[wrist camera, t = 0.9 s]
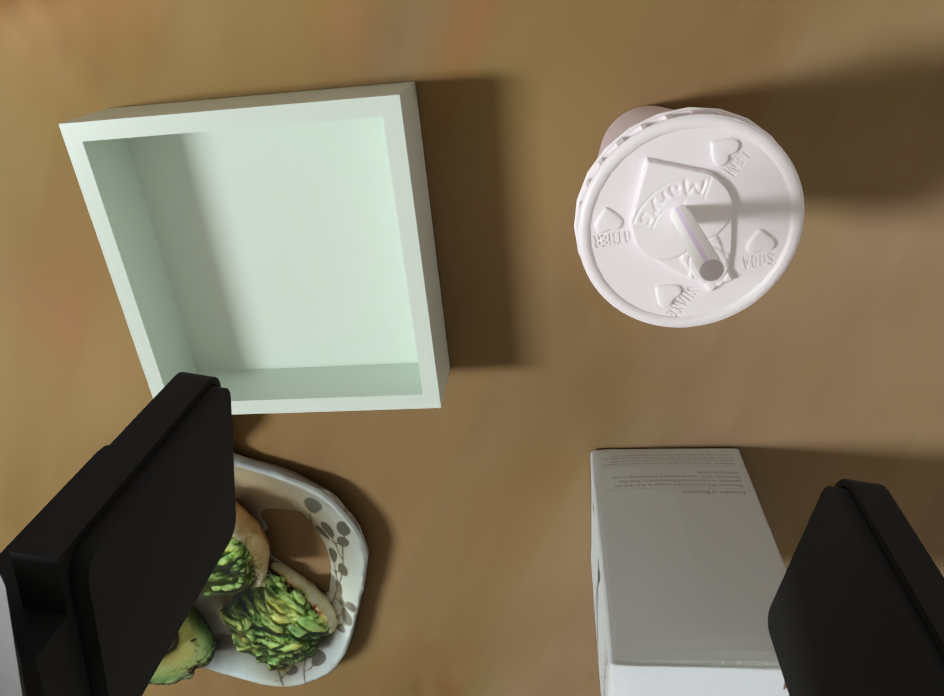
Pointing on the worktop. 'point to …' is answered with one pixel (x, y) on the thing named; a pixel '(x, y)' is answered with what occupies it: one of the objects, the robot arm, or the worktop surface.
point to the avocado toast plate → (273, 591)
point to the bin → (273, 244)
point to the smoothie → (687, 215)
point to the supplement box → (682, 575)
